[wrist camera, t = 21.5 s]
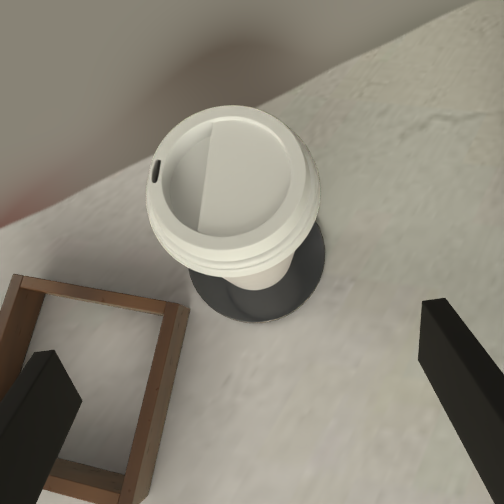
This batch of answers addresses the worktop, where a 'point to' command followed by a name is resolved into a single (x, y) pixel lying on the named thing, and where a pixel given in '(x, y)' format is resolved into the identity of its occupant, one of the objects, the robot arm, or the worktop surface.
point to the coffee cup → (233, 195)
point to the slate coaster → (274, 297)
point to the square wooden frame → (155, 399)
